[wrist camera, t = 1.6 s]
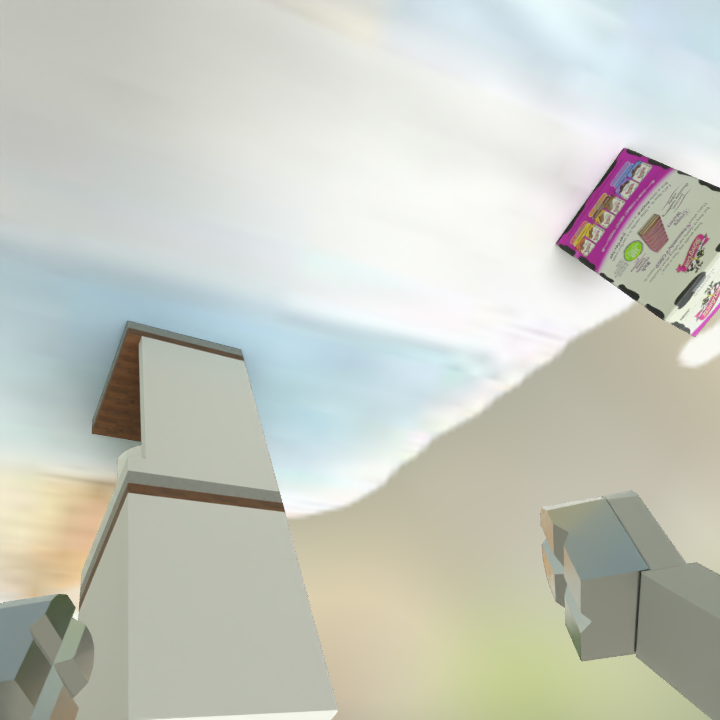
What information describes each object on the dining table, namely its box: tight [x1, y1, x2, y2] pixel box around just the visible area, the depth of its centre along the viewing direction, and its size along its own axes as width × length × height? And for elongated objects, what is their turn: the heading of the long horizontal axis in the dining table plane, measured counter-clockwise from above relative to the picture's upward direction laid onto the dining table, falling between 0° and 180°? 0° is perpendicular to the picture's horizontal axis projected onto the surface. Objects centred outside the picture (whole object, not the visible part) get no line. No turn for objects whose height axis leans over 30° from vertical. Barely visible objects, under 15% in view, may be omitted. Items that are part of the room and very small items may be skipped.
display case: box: [74, 321, 338, 720], centre depth 45 cm, size 11×11×35 cm
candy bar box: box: [557, 148, 720, 337], centre depth 56 cm, size 11×5×16 cm, turn 149°
